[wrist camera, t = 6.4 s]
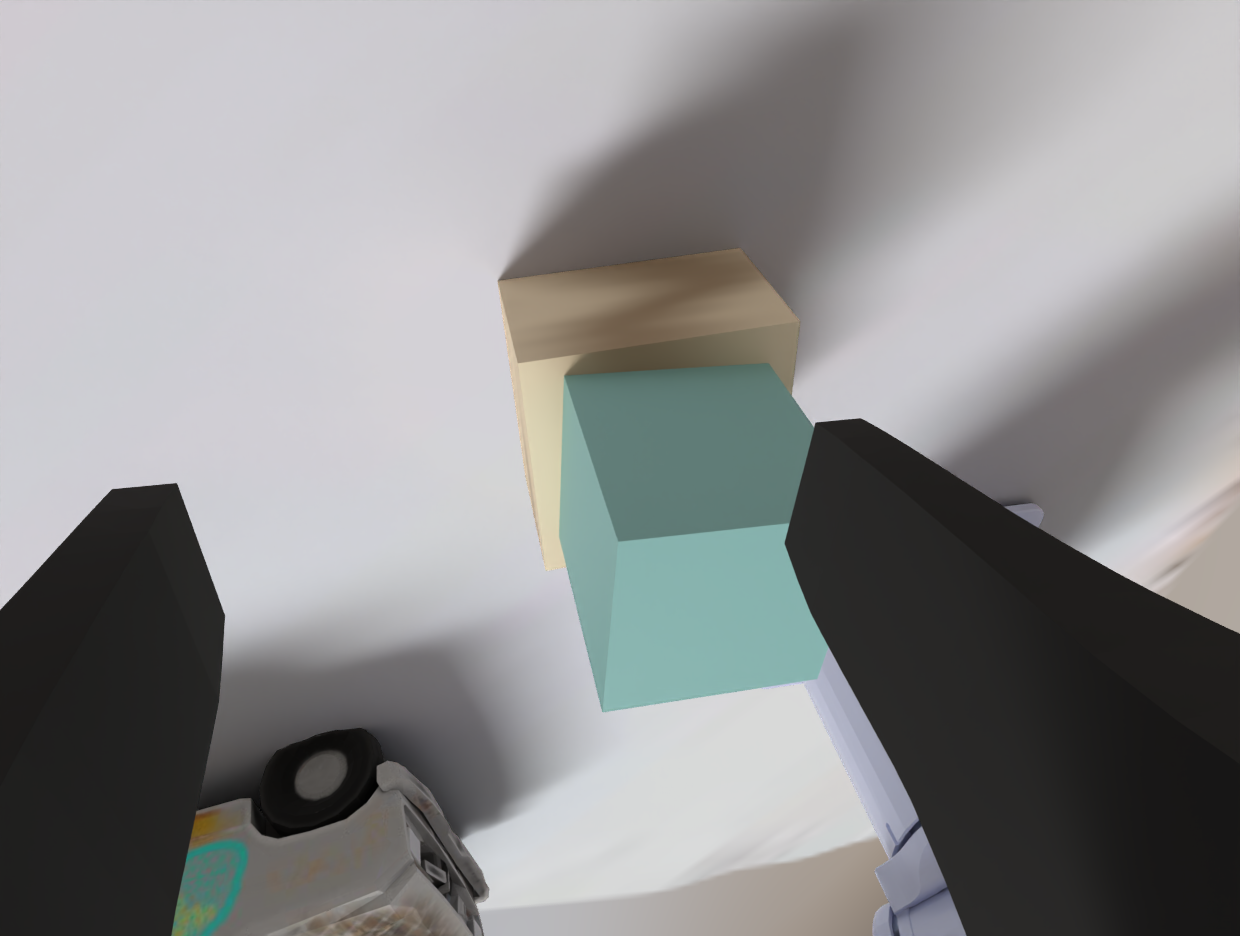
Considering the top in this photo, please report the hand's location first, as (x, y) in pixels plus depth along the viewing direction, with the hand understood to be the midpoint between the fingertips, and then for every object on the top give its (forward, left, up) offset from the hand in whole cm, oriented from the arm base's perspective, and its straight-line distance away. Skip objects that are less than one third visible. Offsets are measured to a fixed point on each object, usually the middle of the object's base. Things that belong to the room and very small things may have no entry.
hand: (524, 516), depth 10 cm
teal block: (-4, +5, -7) cm, 9 cm away
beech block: (-4, +5, -11) cm, 13 cm away
